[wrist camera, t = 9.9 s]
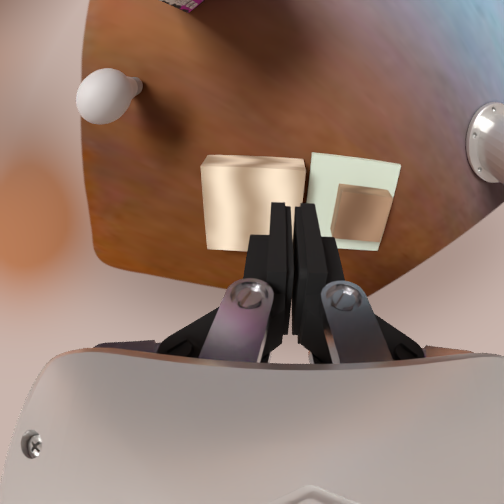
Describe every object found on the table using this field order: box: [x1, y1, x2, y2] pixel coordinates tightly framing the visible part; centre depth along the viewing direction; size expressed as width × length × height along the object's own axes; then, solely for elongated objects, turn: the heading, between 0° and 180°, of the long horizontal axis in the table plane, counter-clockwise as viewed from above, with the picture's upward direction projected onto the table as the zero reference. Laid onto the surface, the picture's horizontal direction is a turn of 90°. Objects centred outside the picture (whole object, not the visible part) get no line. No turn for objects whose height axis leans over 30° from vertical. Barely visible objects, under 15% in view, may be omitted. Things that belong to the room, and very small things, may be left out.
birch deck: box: [201, 155, 306, 251], centre depth 37 cm, size 12×12×4 cm
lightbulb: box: [76, 68, 143, 124], centre depth 25 cm, size 6×6×11 cm
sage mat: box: [306, 152, 401, 251], centre depth 38 cm, size 12×14×1 cm
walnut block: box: [330, 183, 393, 242], centre depth 37 cm, size 7×7×2 cm
